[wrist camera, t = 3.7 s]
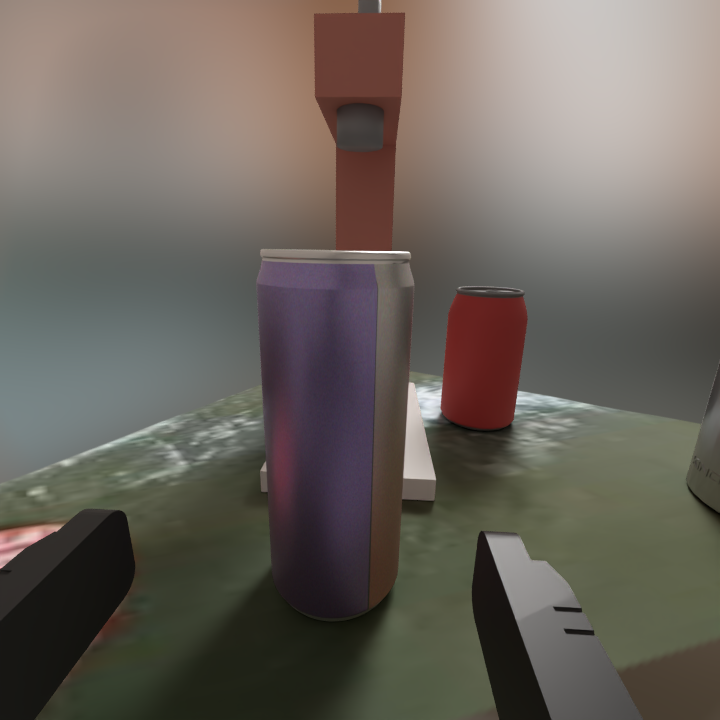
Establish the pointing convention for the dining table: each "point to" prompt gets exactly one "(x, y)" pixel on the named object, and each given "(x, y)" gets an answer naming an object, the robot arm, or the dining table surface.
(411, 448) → the bench press
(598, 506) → the dining table surface
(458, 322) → the beer can
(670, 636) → the dining table surface
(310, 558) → the beverage can
